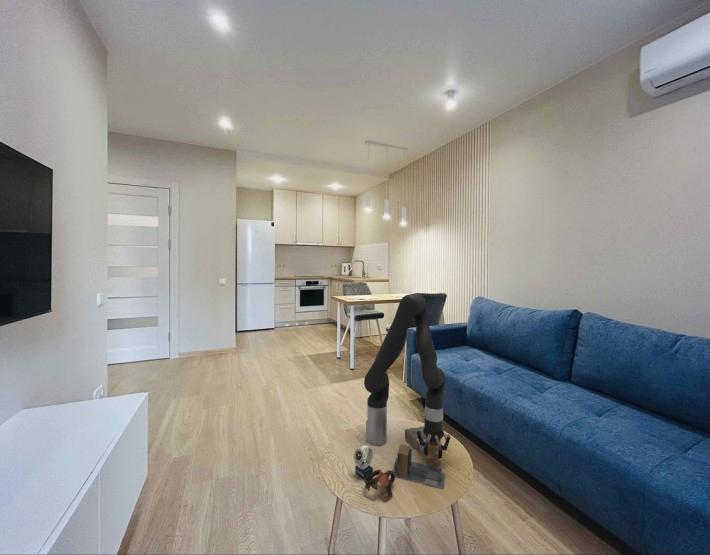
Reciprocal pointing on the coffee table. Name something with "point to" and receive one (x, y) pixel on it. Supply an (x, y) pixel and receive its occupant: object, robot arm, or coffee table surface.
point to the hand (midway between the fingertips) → (433, 456)
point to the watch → (363, 467)
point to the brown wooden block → (433, 453)
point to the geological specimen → (415, 439)
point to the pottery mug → (381, 482)
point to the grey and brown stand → (416, 469)
